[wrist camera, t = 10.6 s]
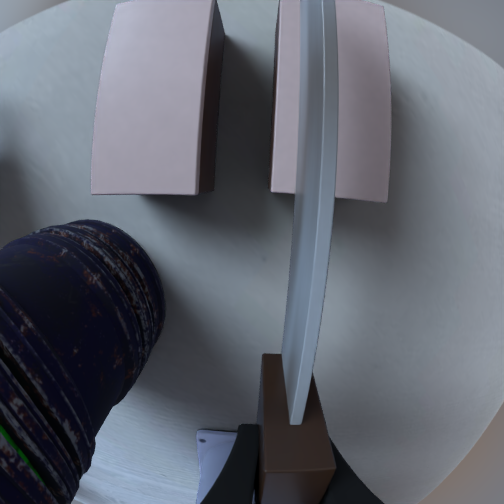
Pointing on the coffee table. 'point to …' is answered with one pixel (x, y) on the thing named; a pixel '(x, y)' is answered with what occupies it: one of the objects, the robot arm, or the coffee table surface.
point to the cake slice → (350, 101)
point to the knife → (304, 285)
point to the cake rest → (159, 99)
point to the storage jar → (68, 350)
